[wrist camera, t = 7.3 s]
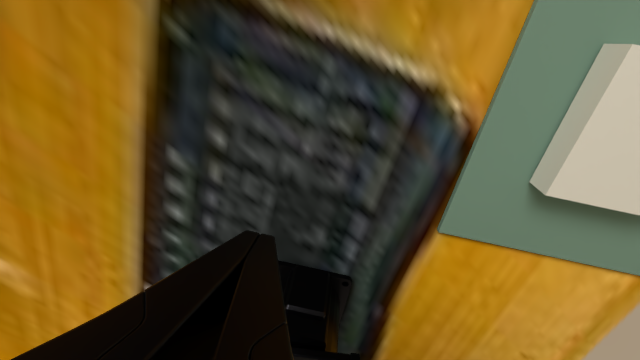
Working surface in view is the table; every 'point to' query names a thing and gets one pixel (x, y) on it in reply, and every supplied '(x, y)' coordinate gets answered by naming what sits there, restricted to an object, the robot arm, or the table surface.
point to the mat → (544, 142)
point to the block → (599, 137)
